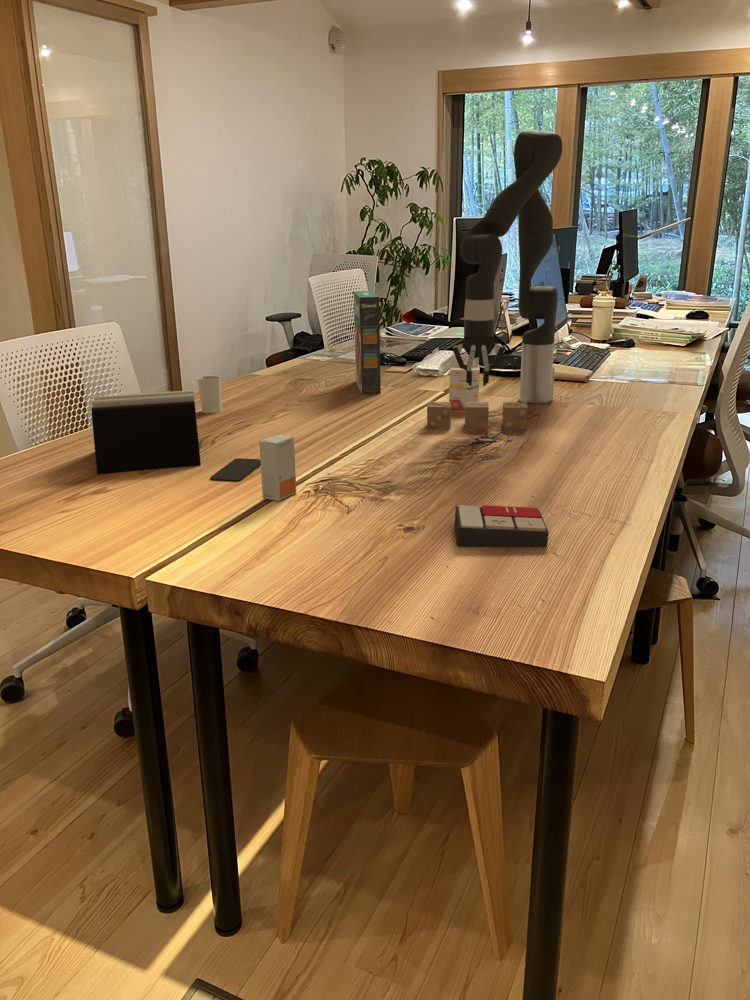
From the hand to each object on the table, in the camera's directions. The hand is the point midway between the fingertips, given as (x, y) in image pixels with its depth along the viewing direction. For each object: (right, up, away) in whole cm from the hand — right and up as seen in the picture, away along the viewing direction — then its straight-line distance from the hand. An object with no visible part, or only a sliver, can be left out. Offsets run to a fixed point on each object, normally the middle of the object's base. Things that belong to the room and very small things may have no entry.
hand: (477, 384), depth 203 cm
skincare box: (-46, -29, -46) cm, 71 cm away
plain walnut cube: (0, -11, +4) cm, 11 cm away
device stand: (-80, -20, -17) cm, 84 cm away
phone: (-57, -24, -29) cm, 68 cm away
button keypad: (-5, -37, -67) cm, 76 cm away
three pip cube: (-10, -10, +5) cm, 15 cm away
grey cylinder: (-75, -4, +27) cm, 79 cm away
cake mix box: (-29, +7, +55) cm, 63 cm away
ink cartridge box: (-1, -3, +25) cm, 25 cm away
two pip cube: (+10, -11, +3) cm, 15 cm away
